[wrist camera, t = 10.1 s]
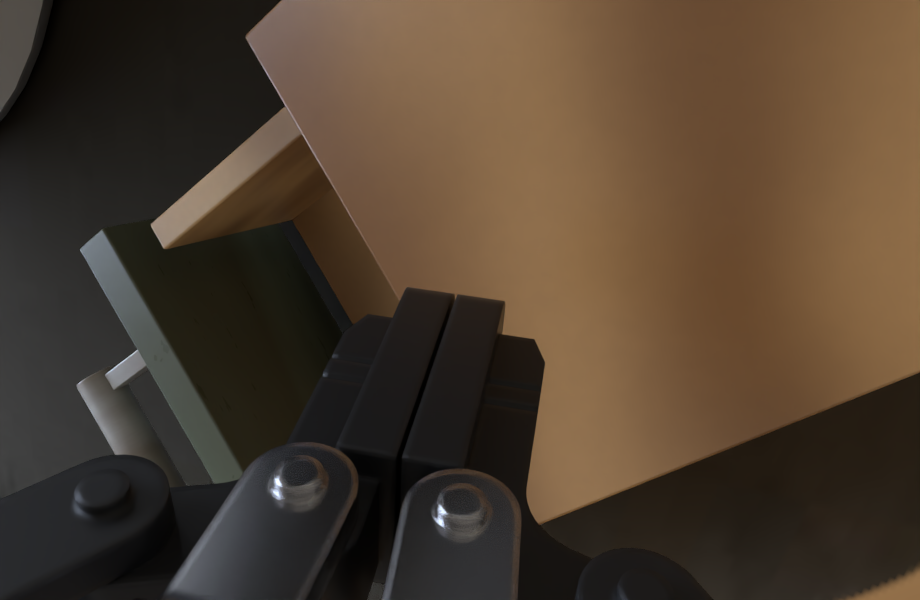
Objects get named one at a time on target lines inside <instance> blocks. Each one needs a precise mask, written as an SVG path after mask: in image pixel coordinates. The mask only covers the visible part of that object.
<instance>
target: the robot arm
mask: <svg viewBox="0 0 920 600" xmlns="http://www.w3.org/2000/svg"><path fill="white" fill-rule="evenodd" d="M504 315H505V301H501V300H494V299H487V298H481V297H474V296H467V295H460V294H458V295H457V296H456V299H455V294H452V293H446V292H439V291H432V290H425V289H419V288H412V287H407V288H406V289H405V291H404V293H403V295H402V297H401V299H400V302H399V304H398V306H397V309H396V311H395V313H394V315H393V318H391V317H385V316H378V315H372V314H367V315H366V316H364V317H363V318H362V319H360V320H359V321H358V322H356V323H355V324H354V325H352V326H351V327H350V328H348V329H347V330H346V331H344V333H343V335H342V337H341V339H340V341H339V343H338V345H337V346H336V348H335V350H334V352H333V356H332V359H331V358H330V360H329V362H328V364H327V366H326V368H325V370H324V372H323V376H322V377H320V379H319V381H318V383H317V385H316V387H315V389H314V391H313V393H312V395H311V397H310V399H309V401H308V402H307V404H306V406H305V408H304V410H303V412H302V414H301V416H300V418H299V420H298V422H297V424H296V426H295V428H294V430H293V431H292V433H291V435H290V437H289V439H288V441H287V443H286V444H285V445H282V446H279V447H276V448H273V449H271V450H269V451H267V452H265V453H263V454H262V455H260V456H259V457H257V458H256V459H255V460H254V461H253V462H252V463H251V464H250V465H249V466H248V467H247V469H246V470H245V471H244V473H243V474H242V476H241V477H240V479H238V480H234V481H230V482H225V483H218V484H207V485H195V486H183V487H171V488H170V486H169V482H168V478H167V476H166V474H165V472H164V471H163V469H162V468H161V467H160V466H159V465H157V464H156V463H154V462H153V461H151V460H148V459H146V458H143V457H139V456H135V455H110V456H103V457H99V458H96V459H92V460H89V461H87V462H84V463H81V464H79V465H77V466H75V467H72V468H70V469H68V470H66V471H63V472H61V473H59V474H56V475H54V476H52V477H50V478H47V479H45V480H43V481H41V482H38V483H36V484H34V485H32V486H29V487H27V488H25V489H23V490H20V491H18V492H16V493H13V494H11V495H9V496H7V497H4V498H2V499H0V600H367V598H368V595H369V592H370V589H371V585H372V582H376V583H381V584H385V587H384V591H383V596H382V600H713V599H712V598H711V597H710V595H709V594H708V593H707V592H706V591H705V590H704V589H703V588H702V586H701V585H700V584H699V583H698V582H697V581H696V580H695V579H694V577H693V576H692V575H691V574H690V573H688V572H687V571H686V570H685V569H684V568H683V567H681V566H680V565H679V564H677V563H676V562H674V561H673V560H671V559H669V558H667V557H665V556H663V555H661V554H658V553H656V552H652V551H649V550H645V549H638V548H620V549H613V550H610V551H607V552H604V553H602V554H600V555H598V556H596V557H595V558H594V559H591V558H589V557H587V556H585V555H583V554H580V553H578V552H576V551H574V550H572V549H570V548H568V547H566V546H565V545H563V544H561V543H559V542H558V541H556V540H555V539H554V538H552V537H551V536H550V535H548V534H547V533H546V532H545V531H544V530H543V529H542V528H541V527H540V525H539V524H538V523H537V521H536V520H535V518H534V517H533V515H532V513H531V511H530V508H529V506H528V502H527V496H526V491H527V482H528V475H529V469H530V462H531V455H532V449H533V442H534V435H535V429H536V422H537V415H538V409H539V402H540V395H541V388H542V382H543V375H544V368H545V361H544V359H543V357H542V354H541V352H540V350H539V348H538V346H537V344H536V342H535V339H530V338H523V337H517V336H510V335H504V334H502V333H503V324H504Z"/></svg>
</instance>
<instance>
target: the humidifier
mask: <svg viewBox="0 0 920 600" xmlns="http://www.w3.org/2000/svg"><path fill="white" fill-rule="evenodd" d="M52 5H53V0H0V121H1V120H2V119H3V118H4V117H5V116H6V115H7V113H8V112H9V110H10V109H11V107H12V106H13V104H14V103H15V101H16V100H17V98H18V96H19V95H20V93H21V92H22V90H23V89H24V87H25V86H26V84H27V81H28V79H29V76H30V74H31V72H32V69H33V67H34V65H35V62H36V60H37V57H38V55H39V53H40V50H41V48H42V45H43V41H44V37H45V33H46V29H47V25H48V21H49V17H50V13H51V9H52Z"/></svg>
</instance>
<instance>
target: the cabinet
mask: <svg viewBox="0 0 920 600" xmlns="http://www.w3.org/2000/svg"><path fill="white" fill-rule="evenodd" d="M245 37H246V40H247V42H248V43H249V45H250V47H251V48H252V50H253V52H254V54H255V55H256V57H257V59H258V60H259V62H260V64H261V65H262V67H263V69H264V71H265V72H266V74H267V76H268V77H269V79H270V81H271V83H272V84H273V86H274V88H275V89H276V91H277V93H278V95H279V96H280V98H281V100H282V101H283V103H284V105H285V106H286V108H287V110H288V112H289V113H290V115H291V117H292V118H293V120H294V122H295V124H296V125H297V127H298V129H299V130H300V132H301V134H302V136H303V137H304V139H305V141H306V142H307V144H308V146H309V148H310V149H311V151H312V153H313V154H314V156H315V158H316V159H317V161H318V163H319V165H320V166H321V168H322V170H323V171H324V173H325V175H326V177H327V178H328V180H329V182H330V183H331V185H332V187H333V189H334V190H335V192H336V194H337V195H338V197H339V199H340V201H341V202H342V204H343V206H344V207H345V209H346V211H347V212H348V214H349V216H350V218H351V219H352V221H353V223H354V224H355V226H356V228H357V230H358V231H359V233H360V235H361V236H362V238H363V240H364V242H365V243H366V245H367V247H368V248H369V250H370V252H371V254H372V255H373V257H374V259H375V260H376V262H377V264H378V265H379V267H380V269H381V271H382V272H383V274H384V276H385V277H386V279H387V281H388V283H389V284H390V286H391V288H392V289H393V291H394V293H395V295H396V296H397V298H398V300H399V301H400V299H401V297H402V295H403V293H404V291H405V289H406V288H407V287H412V288H419V289H425V290H432V291H439V292H446V293H452V294H455V299H456V296H457V295H458V294H460V295H467V296H474V297H481V298H487V299H494V300H501V301H505V315H504V324H503V333H502V334H504V335H510V336H517V337H523V338H530V339H535V342H536V344H537V346H538V348H539V350H540V352H541V354H542V357H543V359H544V361H545V368H544V375H543V382H542V388H541V395H540V402H539V409H538V415H537V422H536V429H535V435H534V442H533V449H532V455H531V462H530V469H529V475H528V482H527V491H526V496H527V502H528V506H529V508H530V511H531V513H532V515H533V517H534V518H535V520H536V521H537V523H538V524H539V525H540V524H543V523H545V522H548V521H550V520H553V519H555V518H558V517H560V516H563V515H565V514H568V513H570V512H573V511H575V510H578V509H580V508H583V507H585V506H588V505H590V504H593V503H595V502H598V501H600V500H603V499H605V498H608V497H610V496H613V495H615V494H618V493H620V492H623V491H625V490H628V489H630V488H633V487H635V486H638V485H640V484H643V483H645V482H648V481H650V480H653V479H655V478H658V477H660V476H663V475H665V474H668V473H670V472H673V471H675V470H678V469H680V468H683V467H685V466H688V465H690V464H693V463H695V462H698V461H700V460H703V459H705V458H708V457H710V456H713V455H715V454H718V453H720V452H723V451H725V450H728V449H730V448H733V447H735V446H738V445H740V444H743V443H745V442H748V441H750V440H753V439H755V438H758V437H760V436H763V435H765V434H768V433H770V432H773V431H775V430H778V429H780V428H783V427H785V426H788V425H790V424H793V423H795V422H798V421H800V420H803V419H805V418H808V417H810V416H813V415H815V414H818V413H820V412H823V411H825V410H828V409H830V408H833V407H835V406H838V405H840V404H843V403H845V402H848V401H850V400H853V399H855V398H858V397H860V396H863V395H865V394H868V393H870V392H873V391H875V390H878V389H880V388H883V387H885V386H888V385H890V384H893V383H895V382H898V381H900V380H903V379H905V378H908V377H910V376H913V375H915V374H918V373H920V0H281V1H280V2H279V3H278V4H277V5H276V6H275V7H274V8H273V9H272V10H271V11H270V12H269V13H268V14H267V15H266V16H265V17H264V18H263V19H262V20H261V21H260V22H259V23H258V24H256V25H255V26H254V27H253V28H252V29H251V30H250V31H249V32H248V33H247V34H246V36H245Z"/></svg>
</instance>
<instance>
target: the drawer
mask: <svg viewBox="0 0 920 600" xmlns="http://www.w3.org/2000/svg"><path fill="white" fill-rule="evenodd" d="M290 220H292V221H293V223H294V224H295V226H296V228H297V230H298V231H299V233H300V235H301V236H302V238H303V240H304V242H305V243H306V245H307V247H308V248H309V250H310V252H311V254H312V255H313V257H314V259H315V260H316V262H317V264H318V266H319V267H320V269H321V271H322V272H323V274H324V276H325V278H326V279H327V281H328V283H329V284H330V286H331V288H332V290H333V291H334V293H335V295H336V296H337V298H338V300H339V302H340V303H341V305H342V307H343V308H344V310H345V312H346V314H347V315H348V317H349V319H350V320H351V322H352V324H353V325H354V324H355V323H356V322H358V321H359V320H360V319H362V318H363V317H364V316H366V315H367V314H372V315H378V316H385V317H391V318H393V315H394V313H395V311H396V309H397V306H398V304H399V302H400V301H399V300H398V298H397V296H396V295H395V293H394V291H393V289H392V288H391V286H390V284H389V283H388V281H387V279H386V277H385V276H384V274H383V272H382V271H381V269H380V267H379V265H378V264H377V262H376V260H375V259H374V257H373V255H372V254H371V252H370V250H369V248H368V247H367V245H366V243H365V242H364V240H363V238H362V236H361V235H360V233H359V231H358V230H357V228H356V226H355V224H354V223H353V221H352V219H351V218H350V216H349V214H348V212H347V211H346V209H345V207H344V206H343V204H342V202H341V201H340V199H339V197H338V195H337V194H336V192H335V190H334V189H333V187H332V185H331V183H330V182H329V180H328V178H327V177H326V175H325V173H324V171H323V170H322V168H321V166H320V165H319V163H318V161H317V159H316V158H315V156H314V154H313V153H312V151H311V149H310V148H309V146H308V144H307V142H306V141H305V139H304V137H303V136H302V134H301V132H300V130H299V129H298V127H297V125H296V124H295V122H294V120H293V118H292V117H291V115H290V113H289V112H288V110H287V108H286V106H285V107H284V108H283V109H281V110H280V111H279V112H278V113H277V114H276V115H275V116H273V117H272V118H271V119H270V120H269V121H268V122H267V123H265V124H264V125H263V126H262V127H261V128H260V129H259V130H257V131H256V132H255V133H254V134H253V135H252V136H251V137H249V138H248V139H247V140H246V141H245V142H244V143H243V144H241V145H240V146H239V147H238V148H237V149H236V150H235V151H234V152H232V153H231V154H230V155H229V156H228V157H227V158H226V159H224V160H223V161H222V162H221V163H220V164H219V165H218V166H216V167H215V168H214V169H213V170H212V171H211V172H210V173H208V174H207V175H206V176H205V177H204V178H203V179H202V180H200V181H199V182H198V183H197V184H196V185H195V186H194V187H192V188H191V189H190V190H189V191H188V192H187V193H186V194H184V195H183V196H182V197H181V198H180V199H179V200H178V201H176V202H175V203H174V204H173V205H172V206H171V207H170V208H169V209H167V210H166V211H165V212H164V213H163V214H162V215H161V216H159V217H158V218H155V219H149V220H144V221H139V222H133V223H128V224H122V225H117V226H112V227H106V228H102V229H101V230H100V231H99V232H98V233H97V234H96V235H94V236H93V237H92V238H91V239H90V240H89V241H88V242H87V243H86V244H85V245H84V246H83V247H81V248H80V251H81V253H82V254H83V256H84V258H85V260H86V261H87V263H88V265H89V267H90V268H91V270H92V272H93V273H94V275H95V277H96V279H97V280H98V282H99V284H100V286H101V287H102V289H103V291H104V293H105V294H106V296H107V298H108V300H109V301H110V303H111V305H112V306H113V308H114V310H115V312H116V313H117V315H118V317H119V319H120V320H121V322H122V324H123V326H124V327H125V329H126V331H127V333H128V334H129V336H130V338H131V339H132V341H133V343H134V345H135V346H136V348H137V351H135V352H134V353H133V354H131V355H130V356H129V357H127V358H126V359H125V360H123V361H122V362H121V363H119V364H118V365H114V366H110V367H107V368H105V369H102V370H100V371H98V372H96V373H94V374H92V375H90V376H88V377H87V378H85V379H83V380H82V381H81V382H79V383H78V384H77V389H78V390H79V392H80V394H81V396H82V397H83V399H84V401H85V403H86V404H87V406H88V408H89V410H90V411H91V413H92V415H93V417H94V418H95V420H96V422H97V424H98V425H99V427H100V429H101V430H102V432H103V434H104V436H105V437H106V439H107V441H108V443H109V444H110V446H111V448H112V450H113V451H114V453H115V455H135V456H139V457H143V458H146V459H148V460H151V461H153V462H154V463H156V464H157V465H159V466H160V467H161V468H162V469H163V471H164V472H165V474H166V476H167V478H168V482H169V486H170V488H171V487H183V486H186V484H185V482H184V480H183V479H182V477H181V475H180V473H179V472H178V470H177V468H176V467H175V465H174V463H173V461H172V460H171V458H170V456H169V454H168V453H167V451H166V449H165V447H164V446H163V444H162V442H161V440H160V439H159V437H158V435H157V434H156V432H155V430H154V428H153V427H152V425H151V423H150V421H149V420H148V418H147V416H146V414H145V413H144V411H143V409H142V407H141V406H140V404H139V402H138V400H137V399H136V397H135V395H134V394H133V392H132V390H131V388H130V387H129V385H128V384H129V383H130V382H132V381H133V380H134V379H136V378H137V377H139V376H140V375H141V374H143V373H144V372H145V371H147V370H148V369H149V371H150V372H151V374H152V376H153V378H154V379H155V381H156V383H157V385H158V386H159V388H160V390H161V392H162V393H163V395H164V397H165V398H166V400H167V402H168V404H169V405H170V407H171V409H172V411H173V412H174V414H175V416H176V418H177V419H178V421H179V423H180V425H181V426H182V428H183V430H184V431H185V433H186V435H187V437H188V438H189V440H190V442H191V444H192V445H193V447H194V449H195V451H196V452H197V454H198V456H199V458H200V459H201V461H202V463H203V464H204V466H205V468H206V470H207V471H208V473H209V475H210V477H211V478H212V480H213V482H214V484H218V483H225V482H230V481H234V480H238V479H240V477H241V476H242V474H243V473H244V471H245V470H246V469H247V467H248V466H249V465H250V464H251V463H252V462H253V461H254V460H255V459H256V458H257V457H259V456H260V455H262V454H263V453H265V452H267V451H269V450H271V449H273V448H276V447H279V446H282V445H285V444H286V443H287V441H288V439H289V437H290V435H291V433H292V431H293V430H294V428H295V426H296V424H297V422H298V420H299V418H300V416H301V414H302V412H303V410H304V408H305V406H306V404H307V402H308V401H309V399H310V397H311V395H312V393H313V391H314V389H315V387H316V385H317V383H318V381H319V379H320V377H322V376H323V372H324V370H325V368H326V366H327V364H328V362H329V360H330V358H331V359H332V356H333V352H334V350H335V348H336V346H337V345H338V343H339V341H340V339H341V337H342V335H343V333H342V332H341V330H340V328H339V327H338V325H337V323H336V321H335V320H334V318H333V316H332V315H331V313H330V311H329V309H328V308H327V306H326V304H325V302H324V301H323V299H322V297H321V296H320V294H319V292H318V290H317V289H316V287H315V285H314V284H313V282H312V280H311V278H310V277H309V275H308V273H307V272H306V270H305V268H304V266H303V265H302V263H301V261H300V260H299V258H298V256H297V254H296V253H295V251H294V249H293V248H292V246H291V244H290V242H289V241H288V239H287V237H286V236H285V234H284V232H283V230H282V229H281V227H280V225H279V224H278V223H281V222H286V221H290Z"/></svg>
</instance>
